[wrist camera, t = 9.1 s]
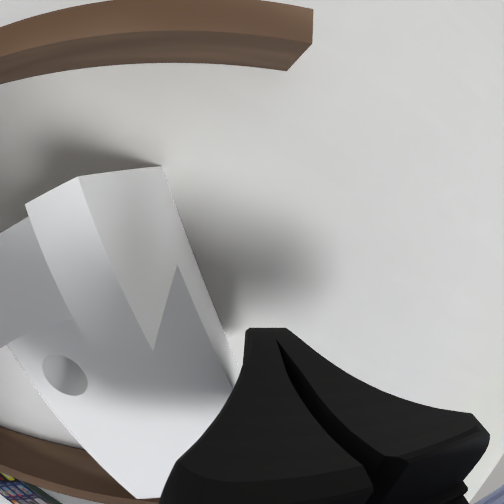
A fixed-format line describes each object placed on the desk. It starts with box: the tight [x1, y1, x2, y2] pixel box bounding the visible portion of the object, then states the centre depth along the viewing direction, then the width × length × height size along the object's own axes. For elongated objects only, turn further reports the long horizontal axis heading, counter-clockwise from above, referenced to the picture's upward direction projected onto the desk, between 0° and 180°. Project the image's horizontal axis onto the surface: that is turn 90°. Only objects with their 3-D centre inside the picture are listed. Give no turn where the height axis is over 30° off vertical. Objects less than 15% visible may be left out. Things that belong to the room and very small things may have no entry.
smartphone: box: [0, 472, 61, 504], centre depth 15 cm, size 8×15×1 cm, turn 32°
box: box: [0, 0, 313, 504], centre depth 10 cm, size 21×20×3 cm
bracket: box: [0, 166, 241, 499], centre depth 9 cm, size 13×7×8 cm, turn 17°
